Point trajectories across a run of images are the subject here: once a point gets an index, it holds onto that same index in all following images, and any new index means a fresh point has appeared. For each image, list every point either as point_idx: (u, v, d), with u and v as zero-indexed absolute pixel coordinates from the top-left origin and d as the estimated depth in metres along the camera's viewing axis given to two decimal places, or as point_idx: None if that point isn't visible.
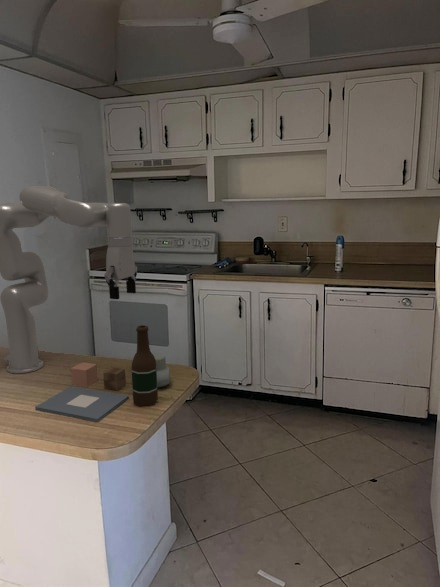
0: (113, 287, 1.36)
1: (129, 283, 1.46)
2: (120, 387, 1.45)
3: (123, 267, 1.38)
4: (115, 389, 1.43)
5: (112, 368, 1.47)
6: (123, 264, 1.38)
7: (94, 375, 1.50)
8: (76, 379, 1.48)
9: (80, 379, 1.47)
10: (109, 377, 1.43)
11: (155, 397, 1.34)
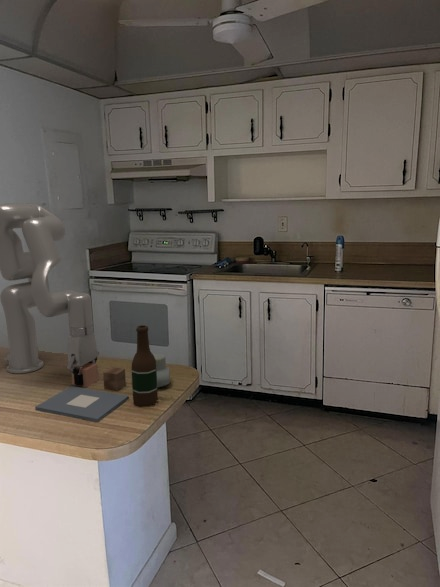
0: (77, 375, 1.45)
1: None
2: (120, 387, 1.45)
3: (84, 354, 1.45)
4: (115, 389, 1.43)
5: (112, 368, 1.47)
6: (84, 351, 1.45)
7: (95, 375, 1.50)
8: None
9: None
10: (109, 377, 1.43)
11: (155, 397, 1.34)
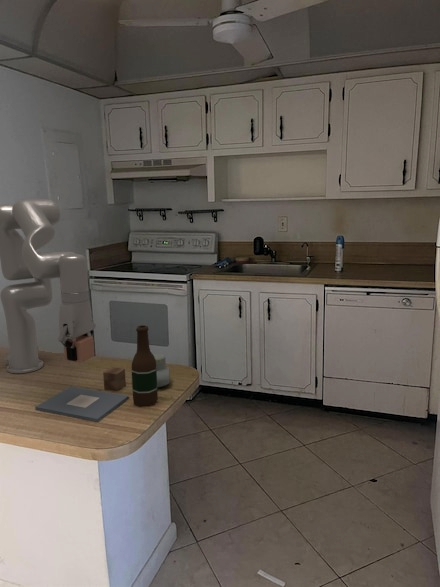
0: (70, 348, 1.26)
1: None
2: (120, 387, 1.45)
3: (78, 324, 1.26)
4: (115, 389, 1.43)
5: (112, 368, 1.47)
6: (78, 321, 1.26)
7: (90, 349, 1.31)
8: None
9: None
10: (109, 377, 1.43)
11: (155, 397, 1.34)
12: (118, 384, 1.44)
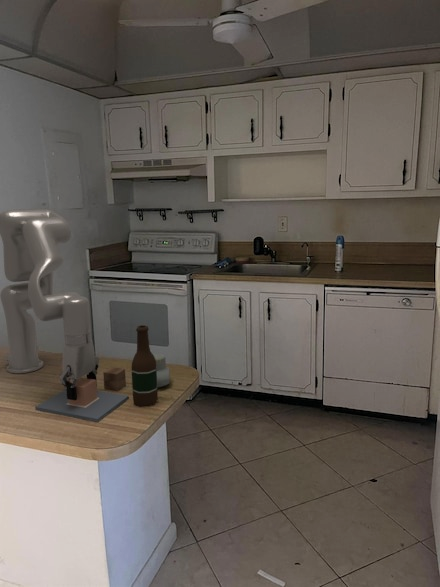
0: (70, 388, 1.27)
1: (89, 377, 1.37)
2: (120, 387, 1.45)
3: (81, 366, 1.28)
4: (115, 389, 1.43)
5: (112, 368, 1.47)
6: (81, 362, 1.28)
7: (93, 392, 1.34)
8: None
9: (77, 397, 1.31)
10: (109, 377, 1.43)
11: (155, 397, 1.34)
12: (118, 384, 1.44)
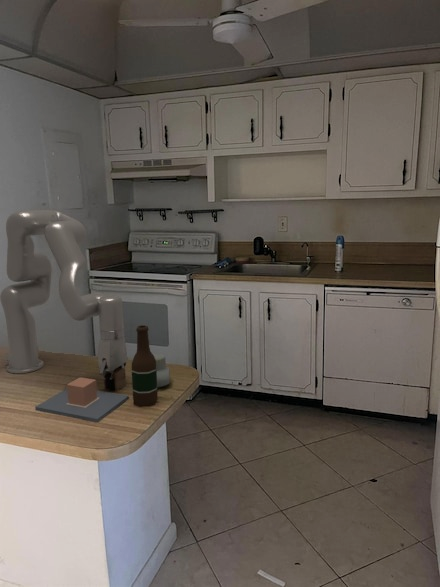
0: (109, 380, 1.42)
1: None
2: (120, 387, 1.45)
3: (115, 358, 1.41)
4: (115, 389, 1.43)
5: None
6: (115, 356, 1.41)
7: (93, 392, 1.34)
8: (72, 397, 1.31)
9: (77, 397, 1.31)
10: None
11: (155, 397, 1.34)
12: (118, 384, 1.44)
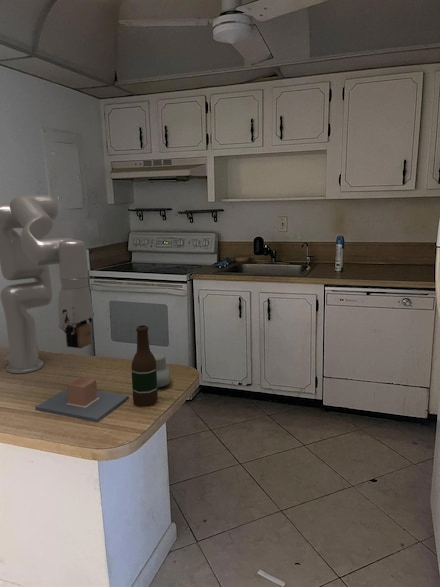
0: (70, 335, 1.26)
1: None
2: (84, 344, 1.29)
3: (77, 311, 1.25)
4: (78, 346, 1.28)
5: None
6: (77, 307, 1.25)
7: (93, 392, 1.34)
8: (72, 397, 1.31)
9: (77, 397, 1.31)
10: None
11: (155, 397, 1.34)
12: (82, 340, 1.28)
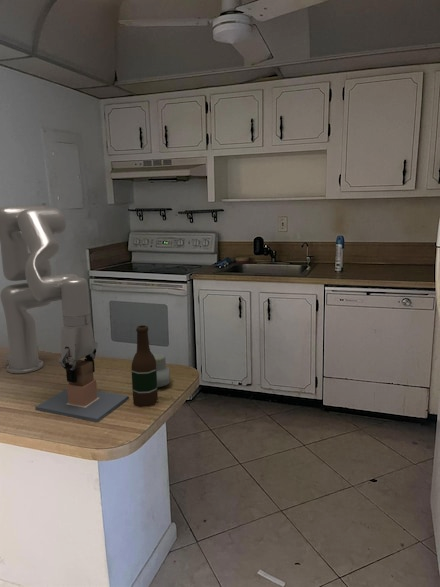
0: (70, 370, 1.27)
1: None
2: (86, 382, 1.31)
3: (79, 347, 1.27)
4: (80, 384, 1.30)
5: (78, 360, 1.34)
6: (79, 344, 1.27)
7: (93, 392, 1.34)
8: (72, 397, 1.31)
9: (77, 397, 1.31)
10: None
11: (155, 397, 1.34)
12: (84, 378, 1.30)
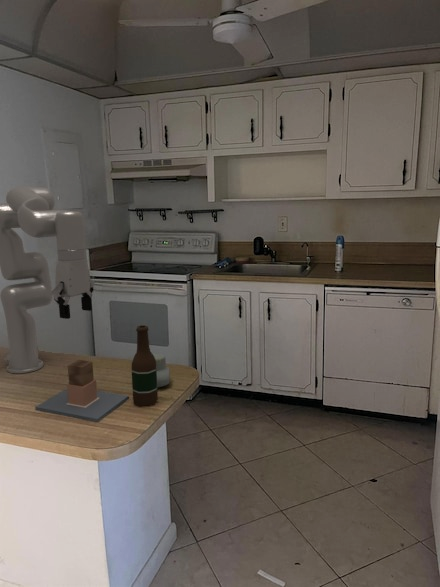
0: (63, 305, 1.22)
1: (84, 299, 1.32)
2: (86, 382, 1.31)
3: (74, 283, 1.24)
4: (80, 384, 1.30)
5: (78, 360, 1.34)
6: (74, 279, 1.23)
7: (93, 392, 1.34)
8: (72, 397, 1.31)
9: (77, 397, 1.31)
10: (74, 370, 1.30)
11: (155, 397, 1.34)
12: (84, 378, 1.30)
